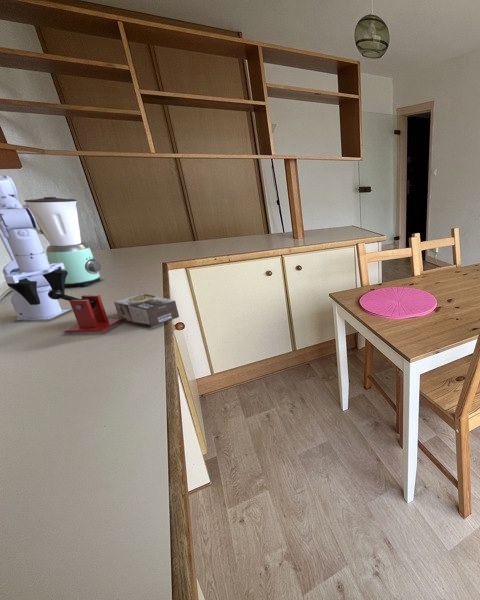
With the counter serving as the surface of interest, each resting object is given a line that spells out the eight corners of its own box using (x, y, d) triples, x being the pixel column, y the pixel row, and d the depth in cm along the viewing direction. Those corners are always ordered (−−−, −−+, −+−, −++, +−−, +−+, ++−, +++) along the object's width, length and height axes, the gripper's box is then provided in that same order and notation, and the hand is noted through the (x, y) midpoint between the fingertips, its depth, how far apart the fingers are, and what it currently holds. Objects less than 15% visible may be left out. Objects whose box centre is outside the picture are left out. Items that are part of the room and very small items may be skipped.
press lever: (44, 298, 89) (44, 289, 88) (53, 295, 92) (54, 286, 91) (87, 311, 92) (88, 302, 91) (95, 307, 95) (96, 299, 94)
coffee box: (119, 319, 101) (150, 329, 95) (113, 301, 99) (145, 309, 93) (149, 310, 109) (180, 318, 103) (144, 292, 107) (176, 300, 101)
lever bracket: (66, 334, 91) (53, 303, 88) (88, 322, 99) (77, 293, 95) (103, 333, 92) (92, 302, 89) (122, 321, 100) (113, 293, 96)
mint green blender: (113, 278, 140) (87, 196, 128) (93, 287, 128) (62, 198, 115) (63, 280, 136) (30, 196, 124) (37, 290, 124) (-2, 198, 111)
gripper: (18, 260, 80) (39, 308, 85) (68, 248, 93) (84, 291, 98) (-13, 260, 79) (10, 309, 84) (42, 248, 93) (59, 291, 97)
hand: (48, 299), depth 91 cm, fingers open, 7 cm apart
